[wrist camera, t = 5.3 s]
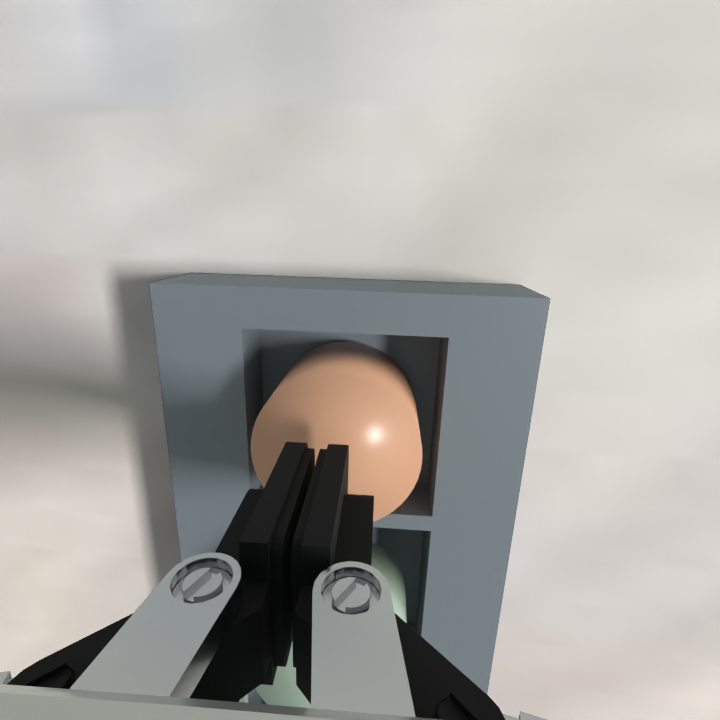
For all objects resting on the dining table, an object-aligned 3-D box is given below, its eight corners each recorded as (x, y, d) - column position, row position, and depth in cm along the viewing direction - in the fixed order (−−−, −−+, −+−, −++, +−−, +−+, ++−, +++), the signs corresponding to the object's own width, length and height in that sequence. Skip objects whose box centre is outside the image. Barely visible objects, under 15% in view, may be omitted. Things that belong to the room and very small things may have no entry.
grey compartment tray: (458, 735, 22) (468, 810, 19) (229, 713, 23) (206, 783, 20) (520, 285, 15) (550, 298, 13) (191, 272, 16) (149, 283, 13)
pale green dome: (401, 642, 17) (404, 738, 14) (277, 632, 18) (252, 723, 14) (409, 538, 16) (414, 618, 13) (274, 528, 16) (245, 605, 13)
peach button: (411, 472, 16) (416, 533, 13) (280, 464, 17) (254, 521, 13) (420, 344, 15) (429, 377, 12) (277, 338, 15) (246, 369, 12)
